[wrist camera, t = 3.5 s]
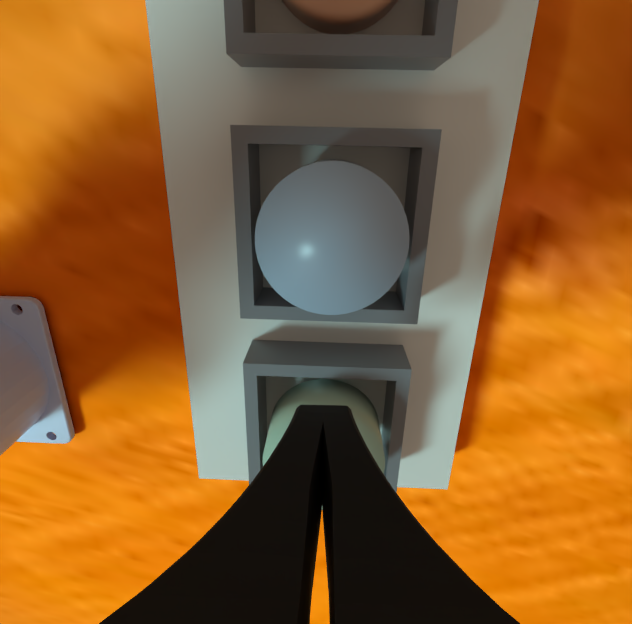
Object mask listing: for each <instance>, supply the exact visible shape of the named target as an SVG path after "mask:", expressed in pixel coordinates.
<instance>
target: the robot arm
mask: <svg viewBox="0 0 632 624" xmlns="http://www.w3.org/2000/svg"><path fill="white" fill-rule="evenodd" d="M17 305H19V306H21V308H22V309H23V311H21V310H20V309H19V308H18V307H17ZM52 432H53V433H52ZM54 433H55V434H56V435H55V434H54ZM74 436H75V432H74V428H73V424H72V420H71V416H70V412H69V408H68V403H67V399H66V395H65V391H64V387H63V383H62V379H61V375H60V371H59V367H58V363H57V359H56V355H55V351H54V347H53V343H52V339H51V335H50V331H49V327H48V323H47V319H46V315H45V311H44V307H43V305H42V303H41V302H40V301H39V300H38V299H36V298H33V297H20V296H0V455H1V454H3V453H4V452H5V451H6V450H7V449H8V448H9V447H10V446H11V445H12V444H13V443H14V442H39V443H63V444H64V443H68V442H70V441H71V440H72V439H73V437H74ZM322 508H323V522H324V535H325V549H326V562H327V576H328V589H329V611H330V624H520V623H519V622H518V621H516V620H515V619H514V618H513V617H512V616H510V615H509V614H508V613H507V612H506V611H504V610H503V609H502V608H501V607H500V606H499V605H498V604H497V603H496V602H495V601H493V600H492V599H491V598H490V597H489V596H488V595H487V594H486V593H485V592H484V591H483V590H482V589H481V588H480V587H479V586H478V585H476V584H475V583H474V582H473V581H472V580H471V579H470V578H469V577H468V576H467V574H466V573H465V572H464V571H463V570H462V569H461V568H460V567H459V566H458V565H457V564H456V563H455V562H454V561H453V560H452V559H451V558H450V557H449V556H448V555H447V554H446V553H445V552H444V551H443V550H442V548H441V547H440V546H439V545H438V544H437V543H436V542H435V541H434V540H433V539H432V537H431V536H430V535H429V534H428V533H427V532H426V530H425V529H424V528H423V527H422V526H421V525H420V523H419V522H418V521H417V520H416V518H415V517H414V516H413V515H412V513H411V512H410V511H409V510H408V508H407V507H406V506H405V504H404V503H403V502H402V500H401V499H400V498H399V496H398V495H397V493H396V492H395V491H394V489H393V488H392V486H391V485H390V483H389V482H388V480H387V479H386V477H385V476H384V474H383V472H382V471H381V469H380V468H379V466H378V464H377V463H376V461H375V459H374V458H373V456H372V454H371V452H370V451H369V449H368V447H367V445H366V443H365V441H364V439H363V437H362V435H361V433H360V431H359V429H358V427H357V425H356V422H355V420H354V417H353V414H352V411H351V409H350V408H349V407H348V406H345V405H299V406H298V407H297V408H296V410H295V413H294V415H293V418H292V420H291V422H290V424H289V426H288V428H287V429H286V431H285V433H284V435H283V437H282V438H281V440H280V441H279V443H278V445H277V446H276V448H275V449H274V451H273V453H272V454H271V456H270V457H269V459H268V460H267V462H266V463H265V464H264V466H263V467H262V469H261V470H260V471H259V473H258V474H257V475H256V477H255V478H254V480H253V481H252V482H251V484H250V485H249V486H248V487H247V489H246V490H245V491H244V492H243V494H242V495H241V496H240V497H239V498H238V500H237V501H236V502H235V503H234V504H233V505H232V506H231V508H230V509H229V510H228V511H227V512H226V513H225V514H224V515H223V517H222V518H221V519H220V520H219V521H218V522H217V523H216V524H215V525H214V526H213V527H212V528H211V529H210V530H209V531H208V532H207V533H206V534H205V535H204V536H203V537H202V538H201V539H200V540H199V541H198V542H197V543H196V544H195V545H194V546H193V547H192V548H191V549H190V550H189V551H188V552H186V553H185V554H184V555H183V556H182V557H181V558H180V559H178V560H177V561H176V562H175V563H174V564H173V565H172V566H170V567H169V568H168V569H167V570H166V571H165V572H164V573H162V574H161V575H160V576H159V577H158V578H157V579H156V580H154V581H153V582H152V583H151V584H150V585H149V586H147V587H146V588H145V589H144V590H142V591H141V592H140V593H139V594H137V595H136V596H135V597H133V598H132V599H131V600H129V601H128V602H127V603H126V604H124V605H123V606H122V607H120V608H119V609H118V610H116V611H115V612H114V613H112V614H111V615H110V616H108V617H107V618H106V619H104V620H103V621H102V622H100V623H99V624H309V623H310V607H311V595H312V587H313V578H314V570H315V561H316V553H317V545H318V536H319V528H320V519H321V511H322Z"/></svg>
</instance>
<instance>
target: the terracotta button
mask: <svg viewBox="0 0 632 624" xmlns="http://www.w3.org/2000/svg"><path fill="white" fill-rule="evenodd" d="M282 1H283V2H284V4H285V5H286V7H287V8H288V9H289V10H290V11H291V12H292V14H293V15H294V16H295V17H296V18H298V19H299V20H300V21H301V22H303V23H304V24H306V25H307V26H309V27H311V28H313V29H315V30H317V31H320V32H324V33H328V34H350V33H355V32H358V31H361V30H364V29H366V28H368V27H370V26H372V25H373V24H375V23H376V22H378V21H379V20H380V19H382V18H383V17H384V16H385V15H386V14H387V13H388V12H389V11H390V10H391V9H392V8H393V6H394V5H395V4H396V3H397V1H398V0H282Z"/></svg>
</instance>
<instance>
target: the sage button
mask: <svg viewBox="0 0 632 624" xmlns="http://www.w3.org/2000/svg"><path fill="white" fill-rule="evenodd" d="M299 405H345V406H348V407H349V408H350V409H351V411H352V414H353V417H354V420H355V422H356V425H357V427H358V429H359V431H360V433H361V435H362V437H363V439H364V441H365V443H366V445H367V447H368V449H369V451H370V452H371V454H372V456H373V458H374V459H375V461H376V463H377V464H378V466H379V468H380V469H381V471H382V472H383V474H384V470H385V456H384V450H383V444H382V438H381V432H380V426H379V420H378V415H377V412H376V409H375V407H374V405H373V404H372V402H371V401H370V399H369V398H368V397H367V396H366V395H365V394H364V393H363V392H361V391H360V390H359V389H357V388H356V387H354V386H352V385H350V384H348V383H345V382H342V381H337V380H331V379H316V380H310V381H306V382H303V383H300V384H298V385H296V386H294V387H292V388H291V389H289V390H288V391H287V392H286V393H284V394H283V395H282V396H281V398H280V399H279V400H278V402H277V403H276V405H275V407H274V410H273V412H272V417H271V421H270V426H269V430H268V434H267V439H266V443H265V448H264V452H263V466H264V464H265V463H266V462H267V460H268V459H269V457H270V456H271V454H272V453H273V451H274V449H275V448H276V446H277V445H278V443H279V441H280V440H281V438H282V437H283V435H284V433H285V431H286V429H287V428H288V426H289V424H290V422H291V420H292V418H293V415H294V413H295V410H296V408H297V407H298V406H299ZM322 510H323V508H322Z"/></svg>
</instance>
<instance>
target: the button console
mask: <svg viewBox="0 0 632 624" xmlns="http://www.w3.org/2000/svg"><path fill="white" fill-rule="evenodd" d="M145 1H146V10H147V19H148V28H149V36H150V45H151V54H152V63H153V72H154V81H155V90H156V99H157V108H158V117H159V125H160V134H161V143H162V152H163V161H164V170H165V179H166V188H167V197H168V206H169V214H170V223H171V232H172V241H173V250H174V259H175V268H176V277H177V286H178V295H179V303H180V312H181V321H182V330H183V339H184V348H185V357H186V366H187V375H188V384H189V392H190V401H191V410H192V419H193V428H194V437H195V446H196V455H197V464H198V473H199V478H204V479H226V480H249V485H250V484H251V482H252V481H253V480H254V478H255V477H256V475H257V474H258V473H259V471H260V470H261V469H262V467H263V452H264V448H265V443H266V439H267V434H268V430H269V426H270V421H271V417H272V412H273V410H274V407H275V405H276V403H277V402H278V400H279V399H280V398H281V396H282V395H283V394H284V393H286V392H287V391H288V390H289V389H291V388H292V387H294V386H296V385H298V384H300V383H303V382H306V381H310V380H316V379H331V380H337V381H342V382H345V383H348V384H350V385H352V386H354V387H356V388H357V389H359V390H360V391H361V392H363V393H364V394H365V395H366V396H367V397H368V398H369V399H370V401H371V402H372V404H373V405H374V407H375V409H376V412H377V415H378V420H379V426H380V432H381V438H382V444H383V450H384V456H385V470H384V476H385V477H386V479H387V480H388V482H389V483H390V485H391V486H392V488H393V489H394V491H395V492H396V491H397V487H408V488H431V489H448V484H449V479H450V473H451V468H452V462H453V457H454V452H455V446H456V441H457V436H458V430H459V425H460V420H461V414H462V409H463V404H464V398H465V393H466V388H467V382H468V377H469V372H470V366H471V361H472V356H473V350H474V345H475V340H476V334H477V329H478V324H479V318H480V313H481V308H482V302H483V297H484V292H485V286H486V281H487V275H488V270H489V265H490V259H491V254H492V249H493V243H494V238H495V233H496V227H497V222H498V217H499V211H500V206H501V201H502V195H503V190H504V185H505V179H506V174H507V169H508V163H509V158H510V153H511V147H512V142H513V137H514V131H515V126H516V121H517V115H518V110H519V105H520V99H521V94H522V88H523V83H524V78H525V72H526V67H527V62H528V56H529V51H530V46H531V40H532V35H533V30H534V24H535V19H536V14H537V8H538V3H539V0H398V1H397V3H396V4H395V5H394V6H393V8H392V9H391V10H390V11H389V12H388V13H387V14H386V15H385V16H384V17H383V18H382V19H380V20H379V21H378V22H376V23H375V24H373V25H372V26H370V27H368V28H366V29H364V30H361V31H358V32H355V33H350V34H328V33H324V32H320V31H317V30H315V29H313V28H311V27H309V26H307V25H306V24H304V23H303V22H301V21H300V20H299V19H298V18H296V17H295V16H294V15H293V14H292V12H291V11H290V10H289V9H288V8H287V7H286V5H285V4H284V2H283V1H282V0H145ZM331 159H336V160H344V161H349V162H352V163H355V164H358V165H360V166H362V167H364V168H366V169H367V170H369V171H371V172H372V173H374V174H376V175H377V176H378V177H380V178H381V179H382V180H384V181H385V182H386V183H387V184H388V185H389V186H390V187H391V189H392V190H393V191H394V193H395V194H396V195H397V197H398V198H399V200H400V202H401V204H402V206H403V208H404V211H405V214H406V217H407V221H408V225H409V249H408V255H407V258H406V262H405V265H404V267H403V269H402V271H401V274H400V275H399V277H398V279H397V280H396V282H395V283H394V284H393V286H392V287H391V288H390V289H389V290H388V291H387V292H386V293H385V294H384V295H383V296H382V297H381V298H379V299H378V300H377V301H375V302H374V303H372V304H371V305H369V306H367V307H365V308H363V309H360V310H358V311H355V312H351V313H347V314H340V315H323V314H317V313H312V312H309V311H306V310H303V309H300V308H298V307H296V306H294V305H292V304H291V303H289V302H288V301H286V300H285V299H284V298H283V297H281V296H280V295H279V294H278V293H277V292H276V291H275V290H274V289H273V288H272V287H271V285H270V284H269V282H268V281H267V279H266V278H265V276H264V274H263V272H262V270H261V268H260V265H259V262H258V259H257V255H256V250H255V228H256V222H257V219H258V215H259V212H260V210H261V207H262V205H263V203H264V201H265V200H266V198H267V197H268V195H269V193H270V192H271V191H272V190H273V189H274V187H275V186H276V185H277V184H278V183H279V182H280V181H282V180H283V179H284V178H285V177H287V176H288V175H290V174H291V173H292V172H294V171H296V170H297V169H299V168H301V167H303V166H305V165H307V164H310V163H313V162H316V161H321V160H331Z"/></svg>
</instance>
